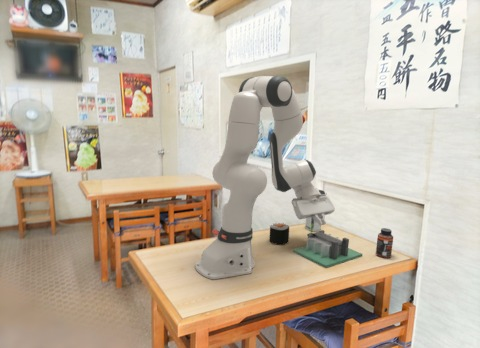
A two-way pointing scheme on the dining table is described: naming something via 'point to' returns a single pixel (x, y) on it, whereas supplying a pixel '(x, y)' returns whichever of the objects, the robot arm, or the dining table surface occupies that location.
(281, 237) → the sushi
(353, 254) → the circuit board
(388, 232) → the supplement bottle
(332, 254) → the posts
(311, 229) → the syrup box
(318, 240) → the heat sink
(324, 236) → the steel strap
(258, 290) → the dining table surface
